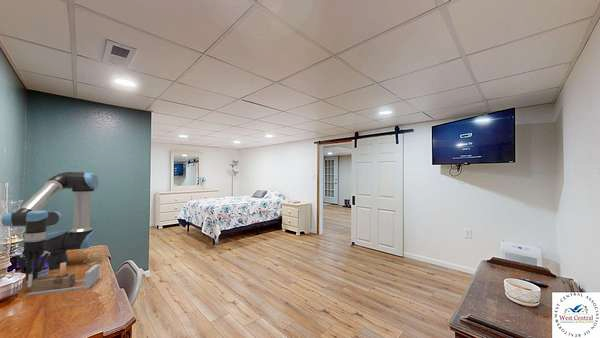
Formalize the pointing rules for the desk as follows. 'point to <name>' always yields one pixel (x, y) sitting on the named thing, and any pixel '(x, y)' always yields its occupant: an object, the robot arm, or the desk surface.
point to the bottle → (45, 270)
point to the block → (53, 282)
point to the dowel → (62, 270)
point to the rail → (90, 279)
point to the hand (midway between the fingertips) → (31, 285)
